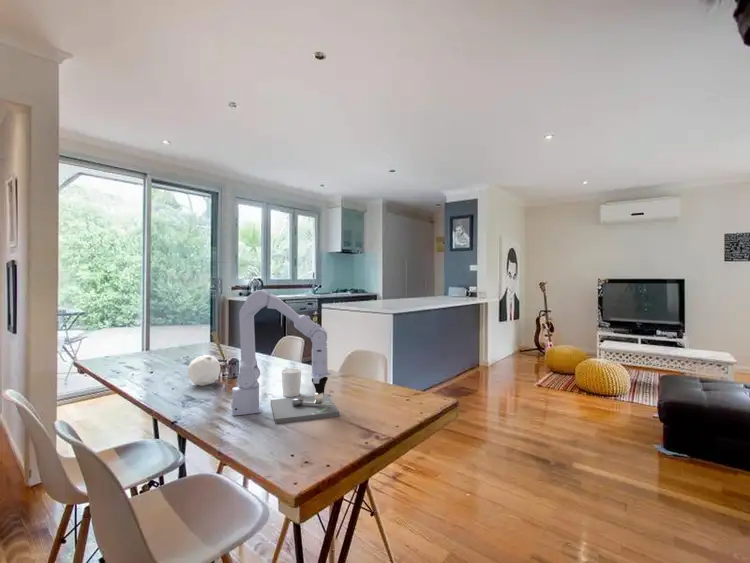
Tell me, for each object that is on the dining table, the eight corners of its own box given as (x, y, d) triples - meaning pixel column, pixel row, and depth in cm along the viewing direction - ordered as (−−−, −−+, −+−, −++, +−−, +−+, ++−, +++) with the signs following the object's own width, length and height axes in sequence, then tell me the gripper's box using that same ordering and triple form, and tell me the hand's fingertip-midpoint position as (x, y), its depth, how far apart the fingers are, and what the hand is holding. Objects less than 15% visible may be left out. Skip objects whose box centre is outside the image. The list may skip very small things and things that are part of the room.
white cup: (296, 398, 150) (296, 373, 150) (278, 396, 151) (278, 372, 151) (304, 392, 157) (304, 368, 157) (286, 391, 159) (286, 367, 159)
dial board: (275, 423, 124) (275, 418, 124) (270, 403, 143) (270, 399, 143) (339, 416, 131) (339, 411, 131) (327, 398, 150) (327, 394, 150)
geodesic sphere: (233, 370, 169) (219, 345, 172) (210, 378, 157) (195, 350, 160) (214, 386, 174) (200, 361, 177) (190, 395, 161) (175, 368, 164)
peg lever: (290, 405, 136) (290, 393, 136) (294, 402, 140) (294, 390, 140) (329, 407, 134) (329, 395, 134) (332, 404, 138) (332, 392, 138)
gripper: (327, 365, 131) (327, 404, 131) (333, 356, 145) (333, 391, 145) (307, 365, 131) (307, 404, 131) (315, 356, 145) (315, 391, 146)
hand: (320, 397), depth 138 cm, fingers closed, pressing on peg lever
